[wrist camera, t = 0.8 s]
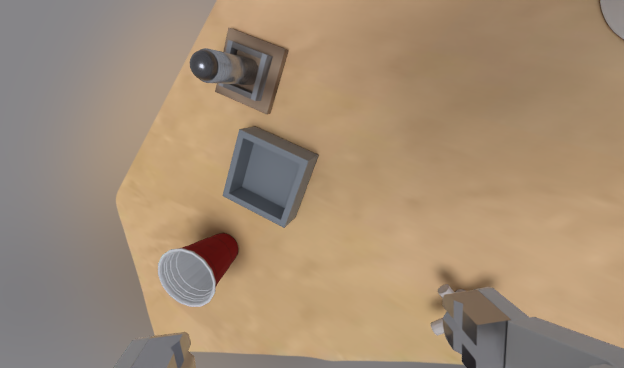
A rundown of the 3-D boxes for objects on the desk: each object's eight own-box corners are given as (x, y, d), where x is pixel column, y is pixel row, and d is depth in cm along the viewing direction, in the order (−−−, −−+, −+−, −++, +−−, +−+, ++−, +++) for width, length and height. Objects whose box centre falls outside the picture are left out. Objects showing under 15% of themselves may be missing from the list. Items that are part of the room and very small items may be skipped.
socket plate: (233, 28, 47) (221, 24, 44) (288, 50, 45) (280, 47, 42) (219, 91, 50) (208, 91, 48) (270, 113, 48) (261, 114, 46)
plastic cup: (253, 274, 59) (215, 314, 48) (208, 266, 62) (163, 302, 52) (248, 223, 56) (207, 254, 45) (201, 218, 59) (152, 245, 49)
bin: (255, 126, 50) (239, 129, 46) (318, 155, 48) (308, 161, 43) (238, 187, 54) (222, 195, 50) (295, 216, 52) (284, 227, 48)
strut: (240, 54, 46) (185, 41, 35) (262, 62, 45) (212, 52, 34) (234, 79, 48) (179, 75, 37) (255, 88, 47) (206, 86, 36)
